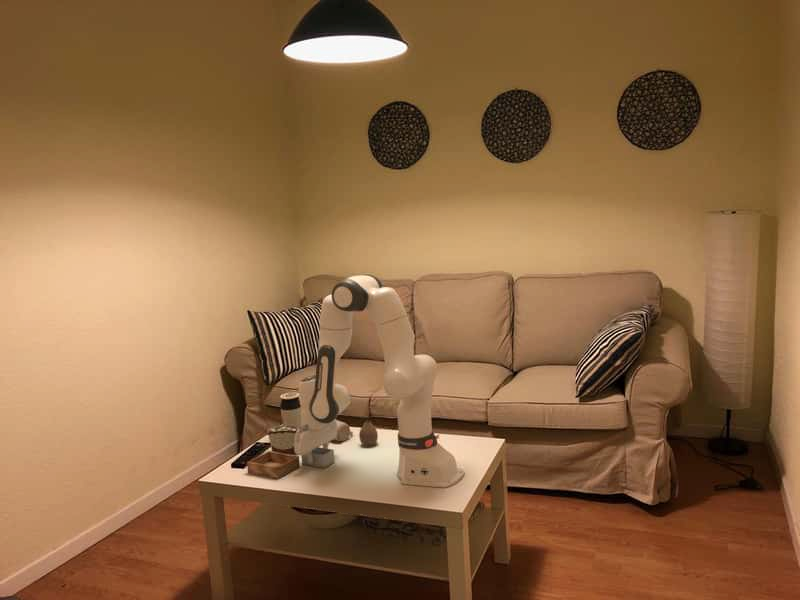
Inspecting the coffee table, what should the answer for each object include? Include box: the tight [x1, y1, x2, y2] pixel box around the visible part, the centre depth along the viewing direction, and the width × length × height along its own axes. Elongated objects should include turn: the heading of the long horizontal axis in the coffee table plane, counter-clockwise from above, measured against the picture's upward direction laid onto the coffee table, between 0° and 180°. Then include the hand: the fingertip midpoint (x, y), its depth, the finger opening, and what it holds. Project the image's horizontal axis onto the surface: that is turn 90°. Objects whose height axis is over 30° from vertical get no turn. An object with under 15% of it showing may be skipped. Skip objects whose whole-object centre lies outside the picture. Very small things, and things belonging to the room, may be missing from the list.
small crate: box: [300, 446, 336, 469], centre depth 245 cm, size 10×6×4 cm, turn 58°
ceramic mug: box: [331, 419, 354, 442], centre depth 268 cm, size 11×8×8 cm
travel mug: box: [279, 392, 302, 429], centre depth 271 cm, size 8×8×18 cm
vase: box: [358, 421, 379, 448], centre depth 259 cm, size 7×7×9 cm
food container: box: [266, 424, 298, 456], centre depth 258 cm, size 12×6×10 cm, turn 84°
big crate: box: [246, 450, 301, 480], centre depth 242 cm, size 14×12×4 cm
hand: (318, 458), depth 245 cm, fingers closed on small crate, 6 cm apart
